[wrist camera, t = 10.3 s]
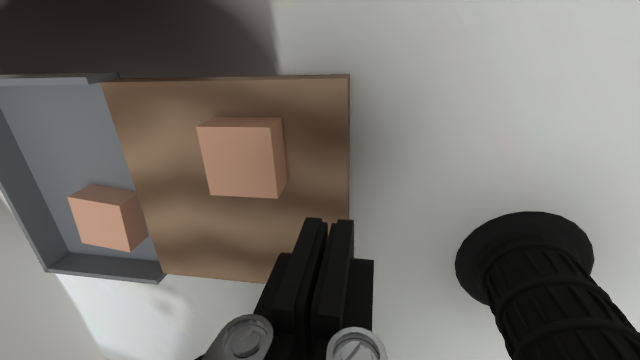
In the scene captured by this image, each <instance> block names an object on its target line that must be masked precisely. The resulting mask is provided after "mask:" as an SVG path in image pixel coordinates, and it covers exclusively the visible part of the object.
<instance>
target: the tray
mask: <svg viewBox="0 0 640 360" xmlns="http://www.w3.org/2000/svg"><path fill="white" fill-rule="evenodd" d="M116 79H120V75H119V72H101V73H100V72H97V73H58V74H57V73H56V74H55V73H52V74H8V75H0V190H1V192H2V193H3V195H4V197H5V199H6V201H7V203H8V205H9V206H10V208H11V210H12V212H13V214H14V216H15V217H16V219H17V221H18V223H19V225H20V227H21V228H22V230H23V232H24V234H25V236H26V238H27V240H28V241H29V243H30V245H31V247H32V249H33V251H34V252H35V254H36V256H37V258H38V260H39V262H40V264H41V265H42V267H43V269H44V271H45V272H49V273H57V274H66V275H75V276H84V277H94V278H103V279H112V280H121V281H130V282H139V283H148V284H157V285H158V284H159V283H160V282H161V281H162V279H163V278H164V277H165V276H166V275H167V274H165V273H163V271H162V268H161V265H160V262H159V259H158V256H157V253H156V250H155V247H154V244H153V241H152V238H151V235H150V232H149V229H148V226H147V223H146V226H147V231H148V237H147V238H146V239H145V240H144V241H143V242H142V243H141V244H139V245H138V246H137V247H136V248H135V249H134V250H133V251H132V252H126V251H121V250H116V249H111V248H106V247H101V246H95V245H90V244H85V243H82V241H81V238H80V235H79V232H78V229H77V225H76V222H75V219H74V216H73V213H72V210H71V207H70V204H69V201H68V198H67V197H68V196H70V195H71V194H73V193H75V192H77V191H79V190H81V189H83V188H85V187H87V186H88V185H90V184H93V185H99V186H105V187H111V188H117V189H123V190H129V191H135V192H136V190H135V187H134V184H133V181H132V178H131V175H130V172H129V168H128V165H127V162H126V159H125V156H124V153H123V150H122V147H121V144H120V141H119V138H118V135H117V132H116V129H115V126H114V123H113V120H112V117H111V114H110V111H109V108H108V105H107V102H106V99H105V96H104V93H103V90H102V87H101V84H100V82H105V81H111V80H116ZM145 221H146V220H145Z"/></svg>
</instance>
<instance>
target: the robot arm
mask: <svg viewBox="0 0 640 360" xmlns="http://www.w3.org/2000/svg"><path fill="white" fill-rule="evenodd" d="M373 273H374V260H367V259H355V258H354V220H345V219H338V221H337V223H332V224H331V227H330V231H329V236H328V223H327V222H323V221H322V218H314V217H306V218H305V221H304V223H303V226H302V228H301V231H300V234H299V236H298V239H297V241H296V244H295V247H294V249H293V252H292V253H285V252H281V253H280V254H279V256H278V258H277V260H276V263H275V265H274V267H273V269H272V272H271V274H270V276H269V279H268V281H267V283H266V285H265V288H264V290H263V292H262V295H261V297H260V299H259V301H258V304H257V306H256V308H255V310H254V313H253V314H248V315H242V316H240V317H237V318H235V319H233V320H232V321H230V322H229V323H228V324H227V325H226V326H225V327H224V328H223V329H222V330H221V331H220V333H219V334H218V336H217V337H216V339H215V340H214V342H213V343H212V344H211V346H210V347H209V349H208V350H207V352H206V353H205V354H203V355H202V356H200V357H198V358H196V359H195V360H388V359H387V354H386V350H385V348H384V345H383V343H382V342H381V340H380V339H379V338H378V337H377V336H376V335H375V334H374V333H372V306H373Z"/></svg>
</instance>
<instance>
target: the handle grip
mask: <svg viewBox="0 0 640 360" xmlns="http://www.w3.org/2000/svg"><path fill="white" fill-rule="evenodd" d="M593 264H594V255H593V249H592V244H591V243H590V241H589V239H588V237H587V235H586V233H585V232H584V231H582V230H581V229H580V228H579V227H578V226H577V225H576V224H575V223H573V222H571V221H569V220H567V219H565V218H563V217H561V216H558V215H554V214H549V213H544V212H519V213H513V214H507V215H504V216H501V217H498V218H496V219H493V220H490V221H488V222H487V223H485V224H484V225H482V226H480V227H479V228H477V229H475V230H474V231H473V232H472V233H471V234H470V235H469V236H468V237H467V238H466V239H465V240H464V242H463V243H462V245H461V247H460V249H459V250H458V252H457V256H456V261H455V270H456V276H457V278H458V280H459V283H460V285H461V286H462V287H463V288H464V289H465V290H466V291H467V292H468V294H469V295H470V296H471V297H473V298H474V299H476V300H477V301H479V302H481V303H482V304H485V305H488V306H490V309H491V311H492V313H493V314H494V316H495V321H496V325H497V327H498V329H499V332H500V333H501V334H502V336H503V338H504V340H505V346H506V349H507V351H508V354H509V356H510V357H511V359H512V360H640V333H639V332H637V331H636V329H635V328H634V327H633V326H632V324H631V323H630V322H629V321H628V320H627V318H626V316H625V315H624V314H623V313H622V312H621V310H620V309H619V308H618V307H617V306H616V305H615V304H614V303H613V302H612V300H611V299H610V297H609V295H608V294H607V293H606V292H605V291H604V290H603V289H602V288H601V287H599V286H598V285H597V284H596V282H595V281H594V280H593V279H592V278H591V276H590V274H591V271H592V267H593Z"/></svg>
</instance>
